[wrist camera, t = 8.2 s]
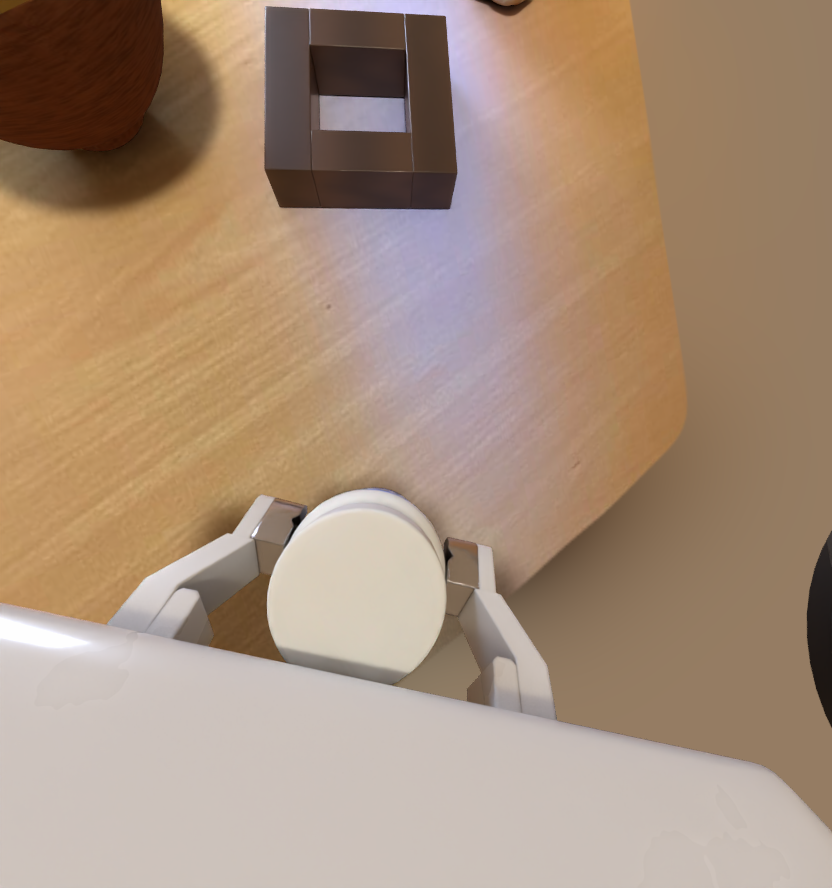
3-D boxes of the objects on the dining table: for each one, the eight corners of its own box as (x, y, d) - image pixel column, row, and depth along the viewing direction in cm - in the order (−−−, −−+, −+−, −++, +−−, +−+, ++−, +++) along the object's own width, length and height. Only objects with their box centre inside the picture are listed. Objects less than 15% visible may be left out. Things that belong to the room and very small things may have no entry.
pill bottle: (420, 483, 16) (457, 483, 8) (427, 586, 16) (475, 701, 7) (318, 490, 16) (245, 498, 7) (322, 596, 15) (247, 732, 7)
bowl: (-89, 97, 24) (-435, -184, 14) (122, -26, 26) (-43, -341, 16) (73, 273, 23) (-168, 112, 13) (275, 130, 25) (201, -98, 15)
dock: (439, 66, 27) (445, 15, 24) (449, 209, 26) (457, 172, 23) (278, 60, 26) (264, 5, 23) (279, 207, 25) (264, 169, 22)
